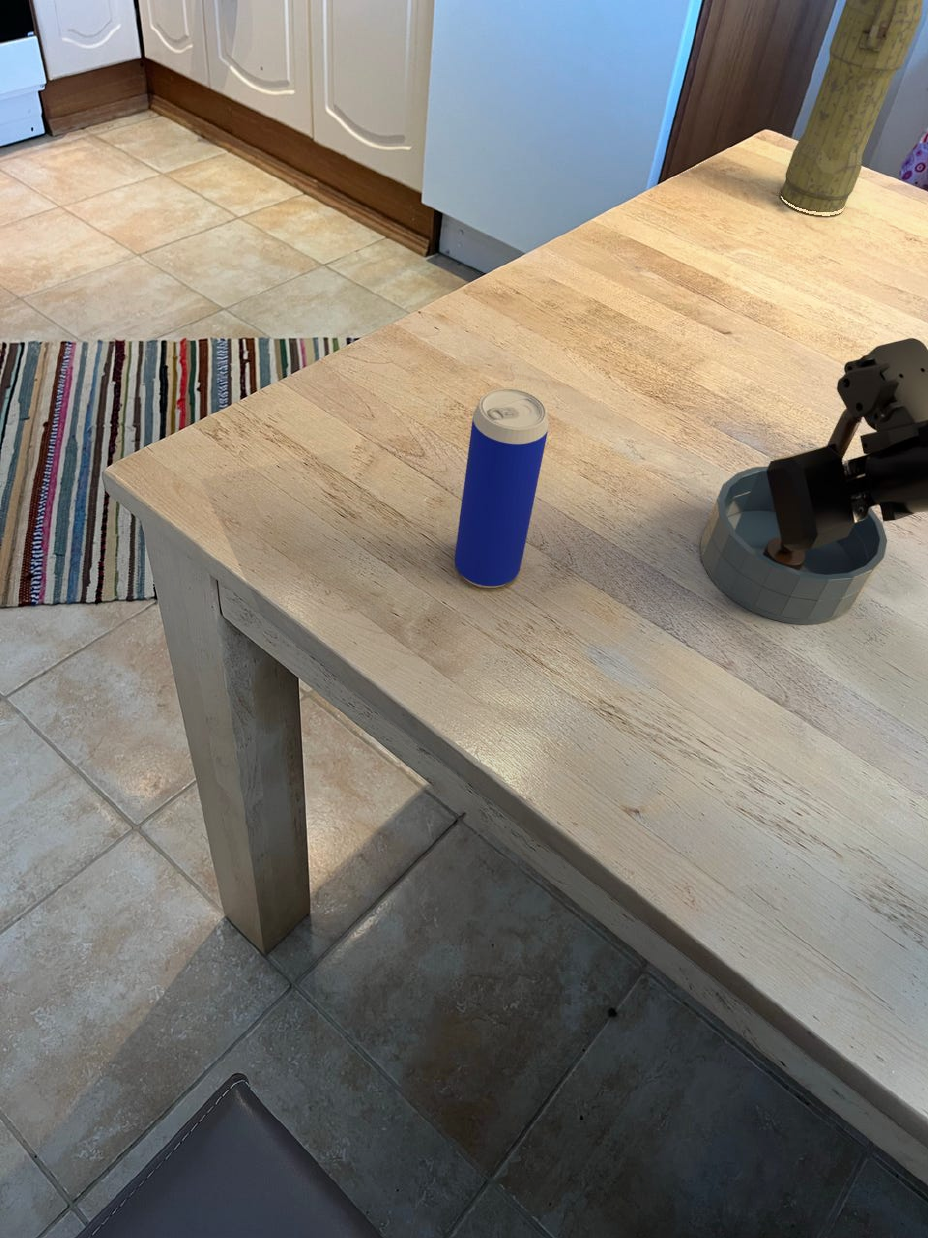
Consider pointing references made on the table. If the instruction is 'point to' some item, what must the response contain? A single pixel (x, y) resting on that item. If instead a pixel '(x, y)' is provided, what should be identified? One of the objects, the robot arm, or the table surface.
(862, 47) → the olive tall cylinder
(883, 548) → the bowl
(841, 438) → the stirrer
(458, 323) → the table surface
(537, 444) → the beverage can
